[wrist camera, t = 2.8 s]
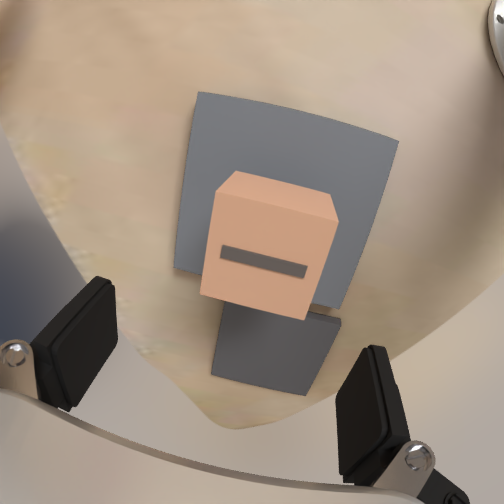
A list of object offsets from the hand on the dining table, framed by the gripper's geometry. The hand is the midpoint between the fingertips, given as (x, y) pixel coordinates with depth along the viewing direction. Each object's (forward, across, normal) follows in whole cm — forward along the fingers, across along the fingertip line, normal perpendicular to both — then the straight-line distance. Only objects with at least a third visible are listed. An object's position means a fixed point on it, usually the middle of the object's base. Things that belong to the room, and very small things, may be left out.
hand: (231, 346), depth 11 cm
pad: (+17, -4, +14) cm, 22 cm away
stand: (+16, -1, -1) cm, 16 cm away
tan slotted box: (+11, 0, -1) cm, 11 cm away
